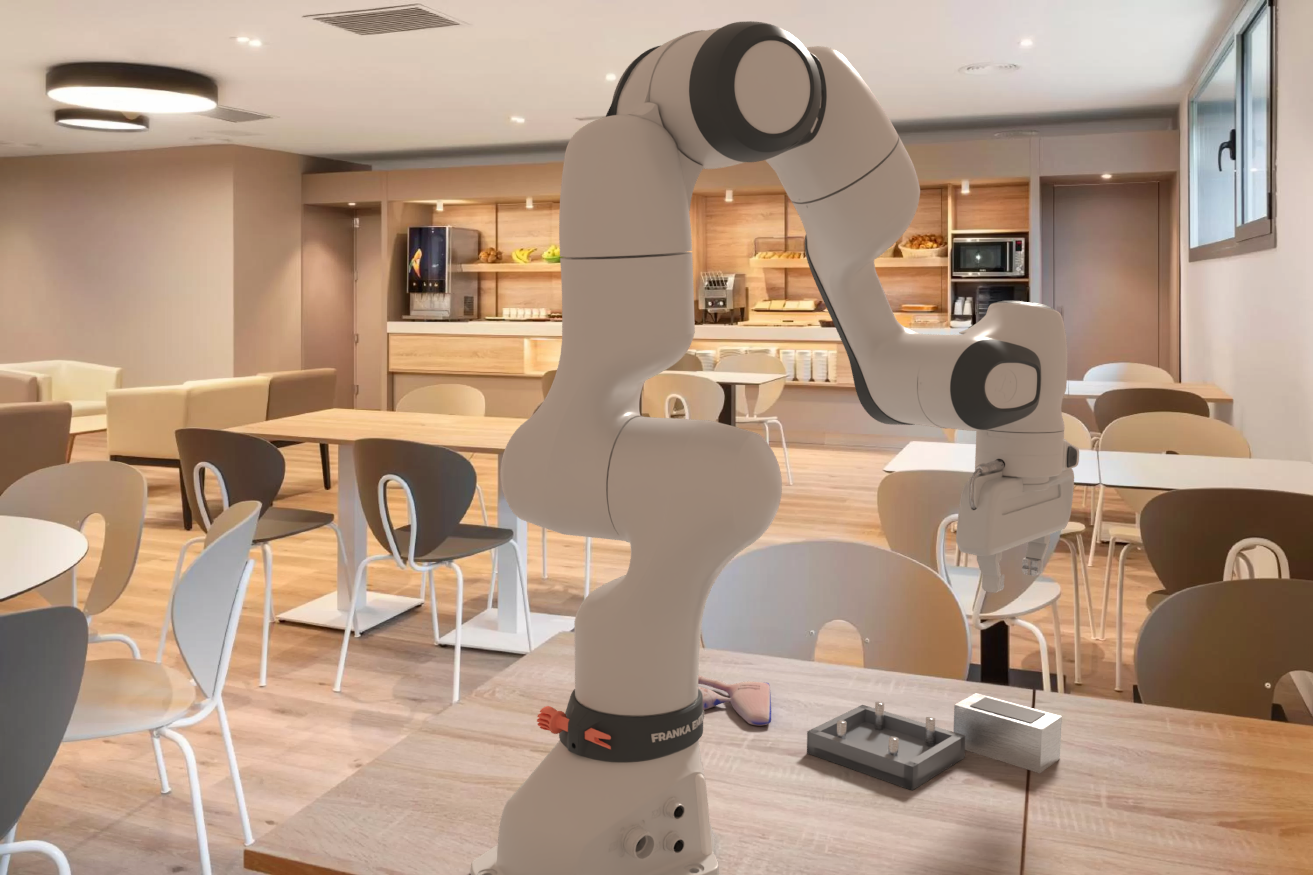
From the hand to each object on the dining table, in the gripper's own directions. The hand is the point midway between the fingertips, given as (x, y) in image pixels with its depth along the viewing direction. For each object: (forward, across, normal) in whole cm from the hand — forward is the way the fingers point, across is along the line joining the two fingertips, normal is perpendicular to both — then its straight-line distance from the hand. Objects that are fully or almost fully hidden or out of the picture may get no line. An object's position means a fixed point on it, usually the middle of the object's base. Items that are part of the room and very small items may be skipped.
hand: (1013, 582), depth 114 cm
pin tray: (+19, -10, +9) cm, 23 cm away
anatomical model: (+20, -13, +35) cm, 42 cm away
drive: (+19, 0, 0) cm, 19 cm away
